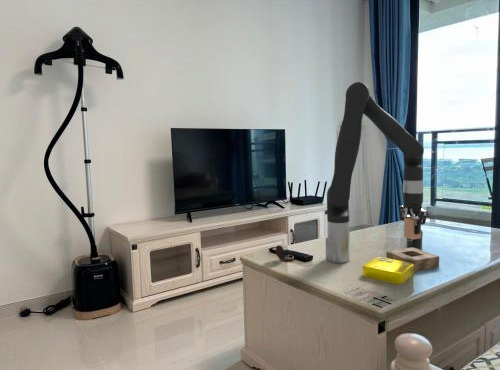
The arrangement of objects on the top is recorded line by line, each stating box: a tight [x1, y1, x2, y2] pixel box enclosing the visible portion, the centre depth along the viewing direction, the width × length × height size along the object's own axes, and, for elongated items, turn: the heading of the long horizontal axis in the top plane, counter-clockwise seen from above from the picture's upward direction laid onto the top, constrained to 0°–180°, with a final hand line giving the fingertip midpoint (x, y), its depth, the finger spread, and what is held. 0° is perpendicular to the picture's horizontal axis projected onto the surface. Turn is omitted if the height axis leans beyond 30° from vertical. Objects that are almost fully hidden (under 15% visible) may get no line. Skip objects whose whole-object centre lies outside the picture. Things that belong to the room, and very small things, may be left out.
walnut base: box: [385, 247, 440, 273], centre depth 146 cm, size 14×14×4 cm
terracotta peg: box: [403, 217, 422, 240], centre depth 144 cm, size 4×4×8 cm
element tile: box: [362, 256, 415, 285], centre depth 136 cm, size 15×15×5 cm
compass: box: [275, 244, 295, 262], centre depth 158 cm, size 8×8×7 cm
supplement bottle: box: [405, 229, 424, 250], centre depth 167 cm, size 7×7×12 cm
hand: (412, 232), depth 145 cm, fingers closed on terracotta peg, 4 cm apart
